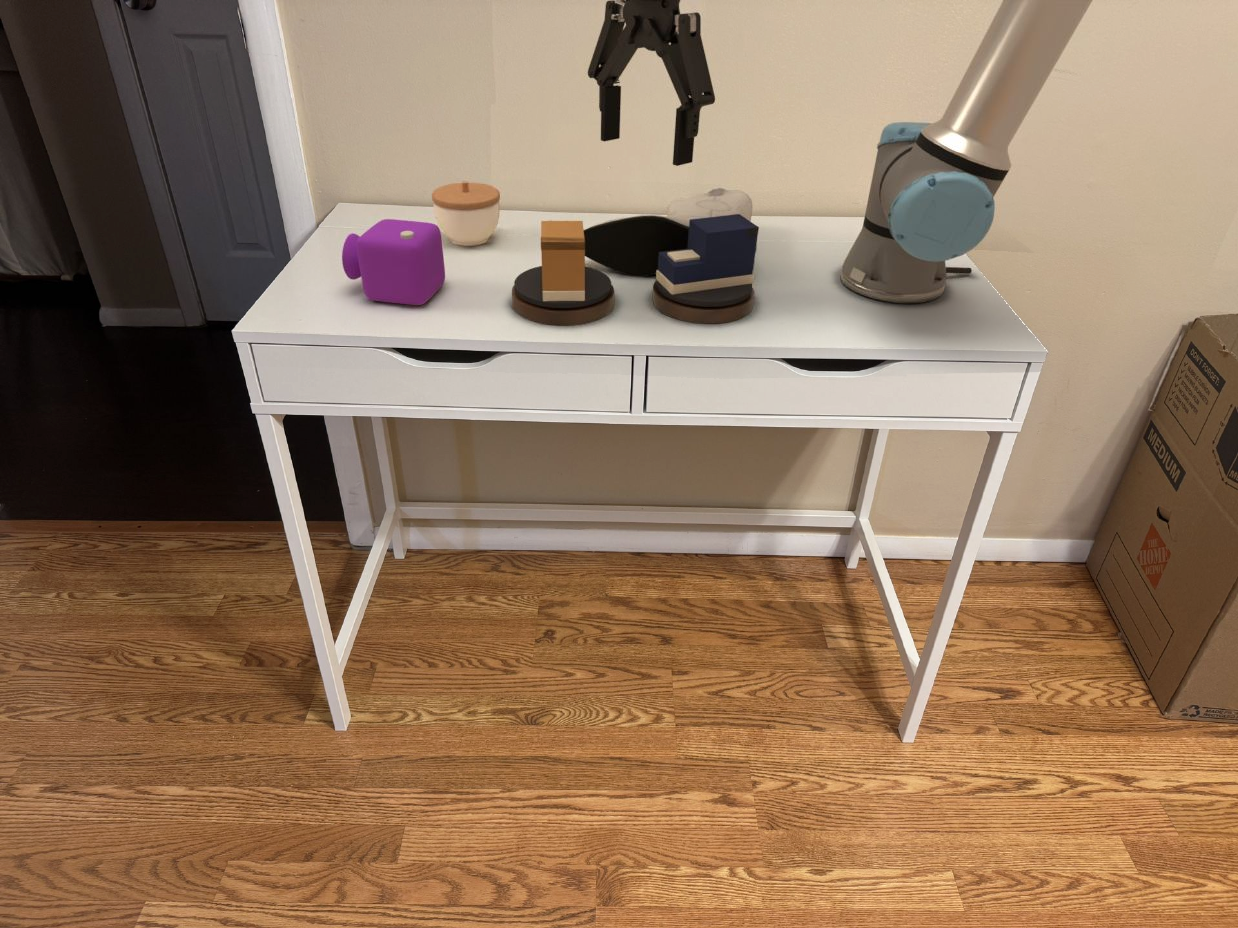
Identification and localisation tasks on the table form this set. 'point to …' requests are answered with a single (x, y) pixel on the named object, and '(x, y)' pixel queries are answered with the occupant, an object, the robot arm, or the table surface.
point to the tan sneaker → (562, 270)
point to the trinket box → (467, 212)
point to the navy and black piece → (711, 263)
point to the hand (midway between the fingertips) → (644, 151)
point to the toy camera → (396, 261)
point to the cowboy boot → (658, 231)
